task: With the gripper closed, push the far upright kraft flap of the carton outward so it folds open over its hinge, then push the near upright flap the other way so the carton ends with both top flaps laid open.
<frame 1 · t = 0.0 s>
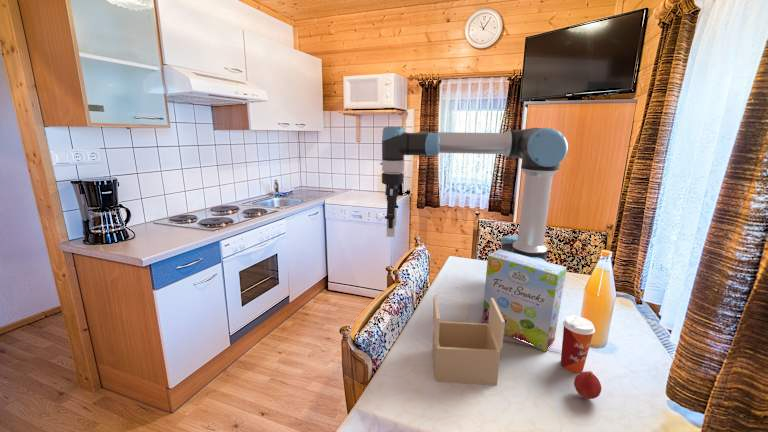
hand: (391, 230, 126), 28 cm above the table, fingers open, 13 cm apart
flap far: (435, 318, 94), point 15 cm above the table, hinge at 90.0°
paper cup: (571, 366, 98), on the table
flap near: (496, 321, 93), point 15 cm above the table, hinge at 90.0°
snack box: (516, 333, 113), on the table
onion: (584, 398, 87), on the table
carton: (462, 366, 97), on the table
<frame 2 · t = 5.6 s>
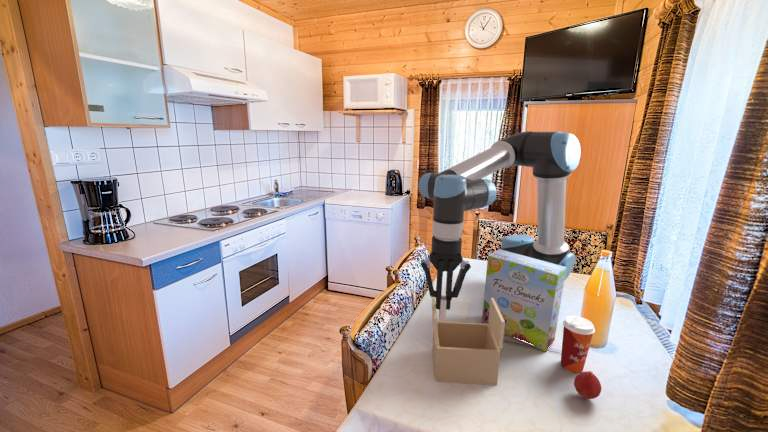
hand: (442, 319, 94), 15 cm above the table, fingers closed
flap far: (434, 318, 94), point 15 cm above the table, hinge at 94.8°, touching gripper
everything else where it was.
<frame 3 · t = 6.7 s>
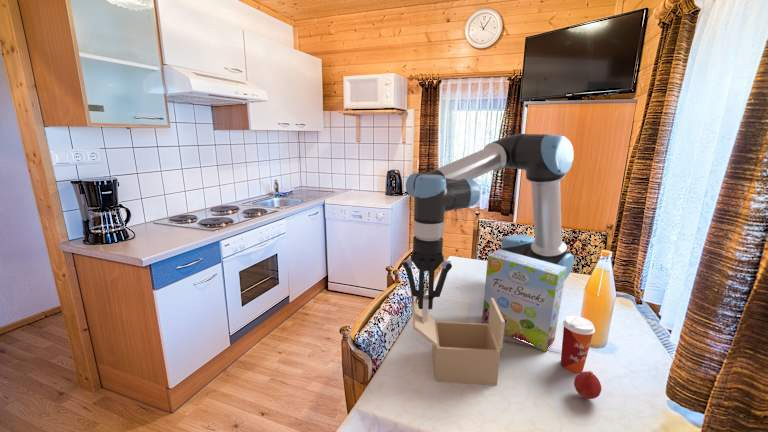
hand: (424, 318, 94), 14 cm above the table, fingers closed
flap far: (424, 322, 95), point 13 cm above the table, hinge at 140.5°, touching gripper
everything else where it was.
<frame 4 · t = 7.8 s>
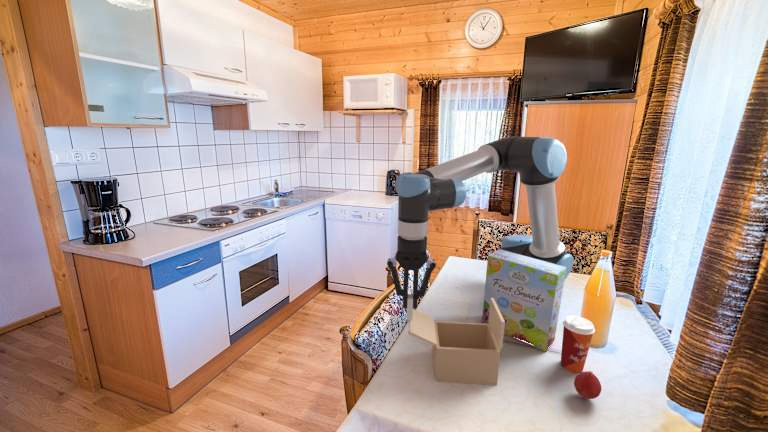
hand: (409, 317, 95), 14 cm above the table, fingers closed
flap far: (422, 325, 95), point 12 cm above the table, hinge at 155.5°
everything else where it was.
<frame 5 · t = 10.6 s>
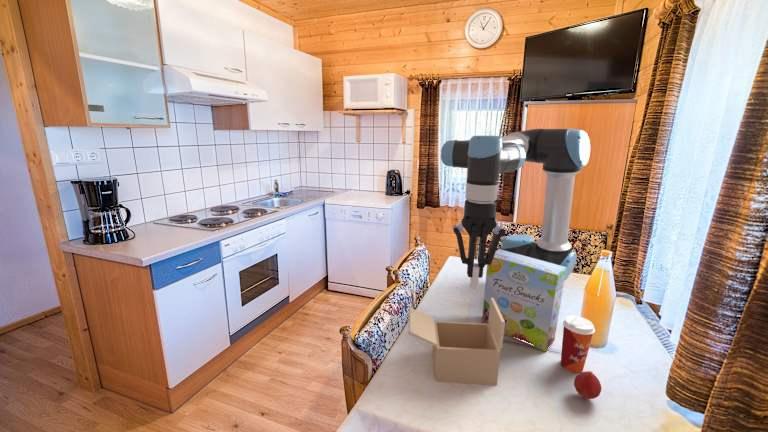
hand: (473, 288, 91), 24 cm above the table, fingers closed
nothing on the table moved.
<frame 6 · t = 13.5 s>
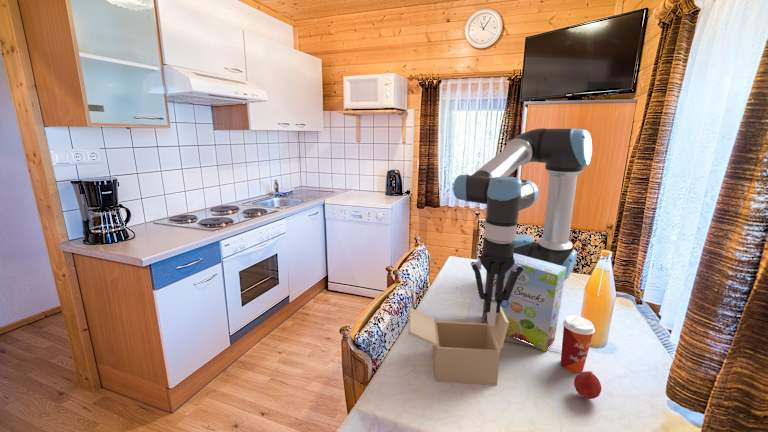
hand: (490, 322, 93), 14 cm above the table, fingers closed
flap near: (498, 322, 93), point 15 cm above the table, hinge at 97.3°, touching gripper
everything else where it was.
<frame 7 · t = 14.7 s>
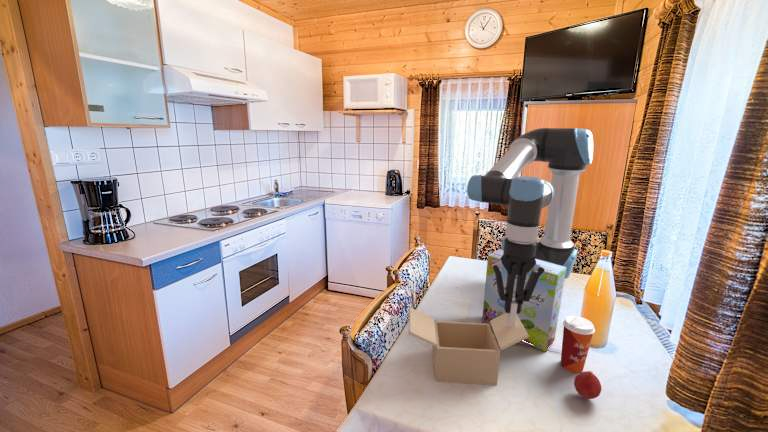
hand: (510, 323, 93), 14 cm above the table, fingers closed
flap near: (508, 328, 93), point 13 cm above the table, hinge at 146.3°, touching gripper
everything else where it was.
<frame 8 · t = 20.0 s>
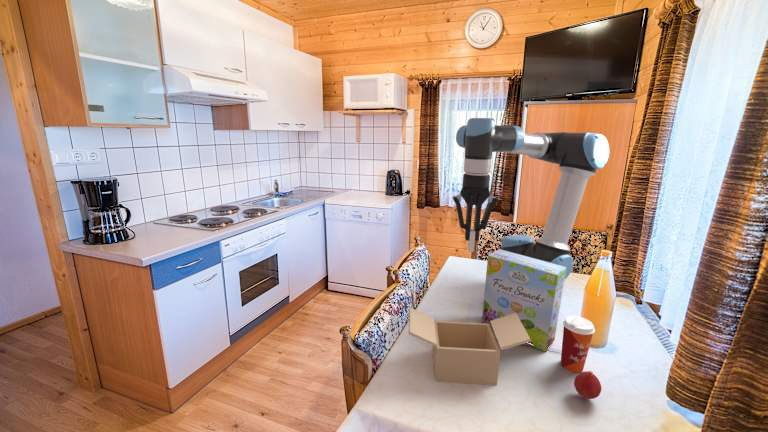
hand: (470, 250, 106), 28 cm above the table, fingers closed
flap near: (509, 330, 93), point 12 cm above the table, hinge at 156.2°
everything else where it was.
at the end: flap far at +156° (first picture: +90°); flap near at +156° (first picture: +90°) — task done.
